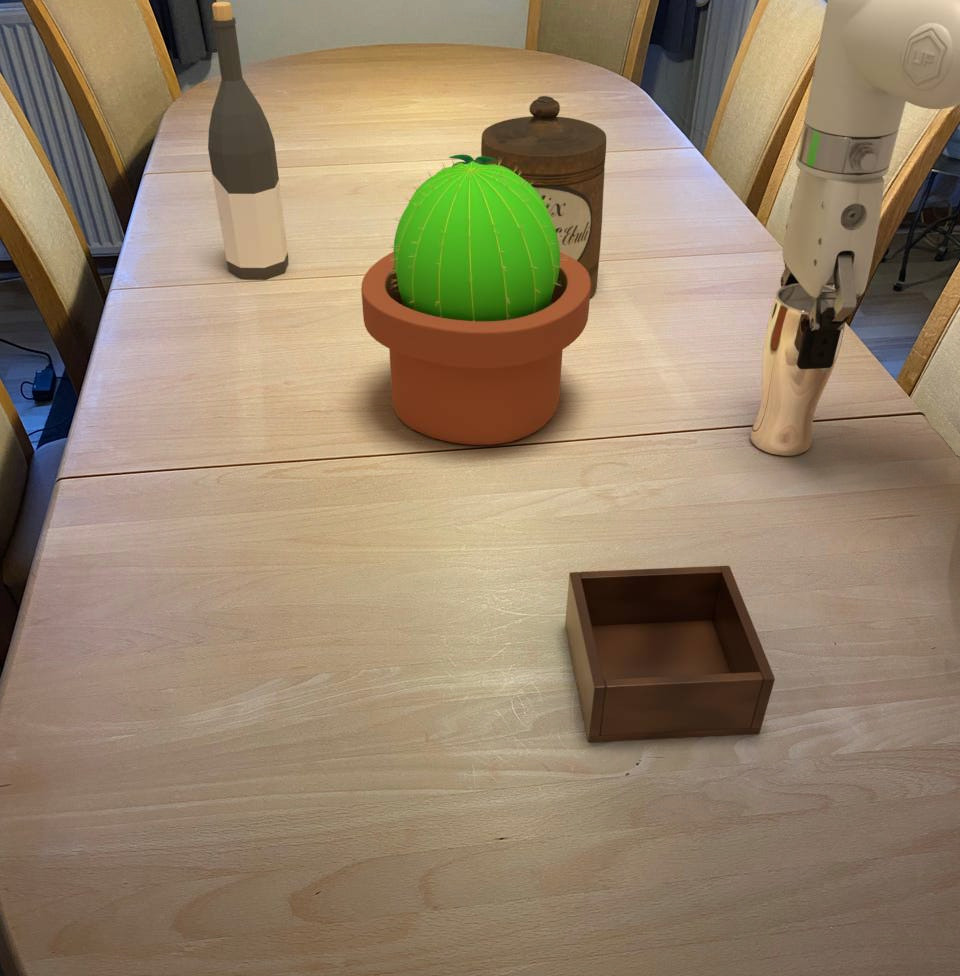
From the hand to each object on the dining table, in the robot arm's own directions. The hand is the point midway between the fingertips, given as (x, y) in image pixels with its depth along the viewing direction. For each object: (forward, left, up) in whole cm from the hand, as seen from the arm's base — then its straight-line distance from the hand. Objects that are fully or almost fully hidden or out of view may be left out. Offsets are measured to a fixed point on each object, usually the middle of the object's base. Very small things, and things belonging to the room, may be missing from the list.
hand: (801, 346), depth 97 cm
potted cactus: (+30, -9, -10) cm, 33 cm away
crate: (+19, +33, -10) cm, 39 cm away
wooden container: (+20, -38, -10) cm, 44 cm away
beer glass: (0, 0, -10) cm, 10 cm away
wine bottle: (+56, -46, -10) cm, 73 cm away
